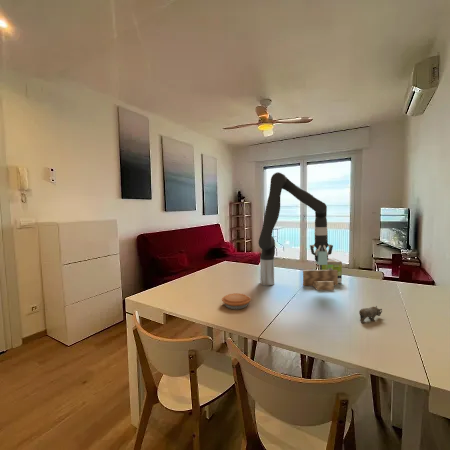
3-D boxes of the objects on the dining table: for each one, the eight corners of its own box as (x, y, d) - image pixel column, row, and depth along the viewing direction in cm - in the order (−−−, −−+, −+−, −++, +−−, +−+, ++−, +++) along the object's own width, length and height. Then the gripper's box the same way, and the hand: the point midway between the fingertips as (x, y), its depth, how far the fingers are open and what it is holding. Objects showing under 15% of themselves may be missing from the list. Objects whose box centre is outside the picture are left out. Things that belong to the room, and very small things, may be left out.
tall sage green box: (319, 264, 154) (318, 247, 153) (315, 262, 161) (315, 246, 160) (327, 264, 154) (327, 247, 153) (323, 262, 160) (323, 246, 160)
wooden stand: (307, 290, 157) (307, 274, 157) (303, 285, 167) (303, 270, 167) (343, 289, 156) (343, 273, 156) (336, 284, 167) (336, 269, 166)
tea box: (342, 283, 170) (342, 261, 169) (327, 283, 170) (327, 261, 169) (333, 277, 185) (333, 257, 184) (319, 277, 185) (319, 257, 184)
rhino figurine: (386, 318, 115) (386, 306, 114) (364, 324, 110) (364, 311, 109) (378, 315, 118) (378, 303, 118) (356, 320, 114) (356, 307, 113)
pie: (230, 313, 125) (230, 303, 125) (217, 303, 139) (216, 294, 138) (256, 307, 132) (256, 298, 132) (241, 298, 146) (241, 290, 145)
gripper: (311, 235, 153) (311, 262, 154) (335, 234, 152) (335, 262, 153) (307, 234, 160) (308, 260, 161) (330, 233, 160) (331, 259, 160)
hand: (321, 261), depth 157 cm, fingers closed on tall sage green box, 5 cm apart
